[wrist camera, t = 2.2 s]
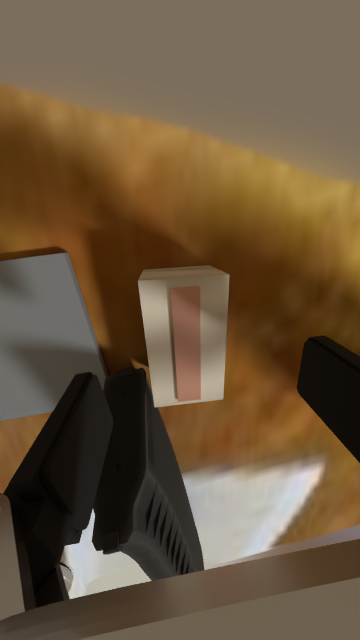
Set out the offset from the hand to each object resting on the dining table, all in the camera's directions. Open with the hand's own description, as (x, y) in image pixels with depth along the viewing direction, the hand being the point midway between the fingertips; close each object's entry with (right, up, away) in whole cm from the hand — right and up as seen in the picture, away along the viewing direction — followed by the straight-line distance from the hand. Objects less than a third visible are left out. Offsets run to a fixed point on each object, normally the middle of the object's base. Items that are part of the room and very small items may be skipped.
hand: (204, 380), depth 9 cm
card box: (-1, +3, +8) cm, 8 cm away
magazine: (-3, -15, +15) cm, 21 cm away
